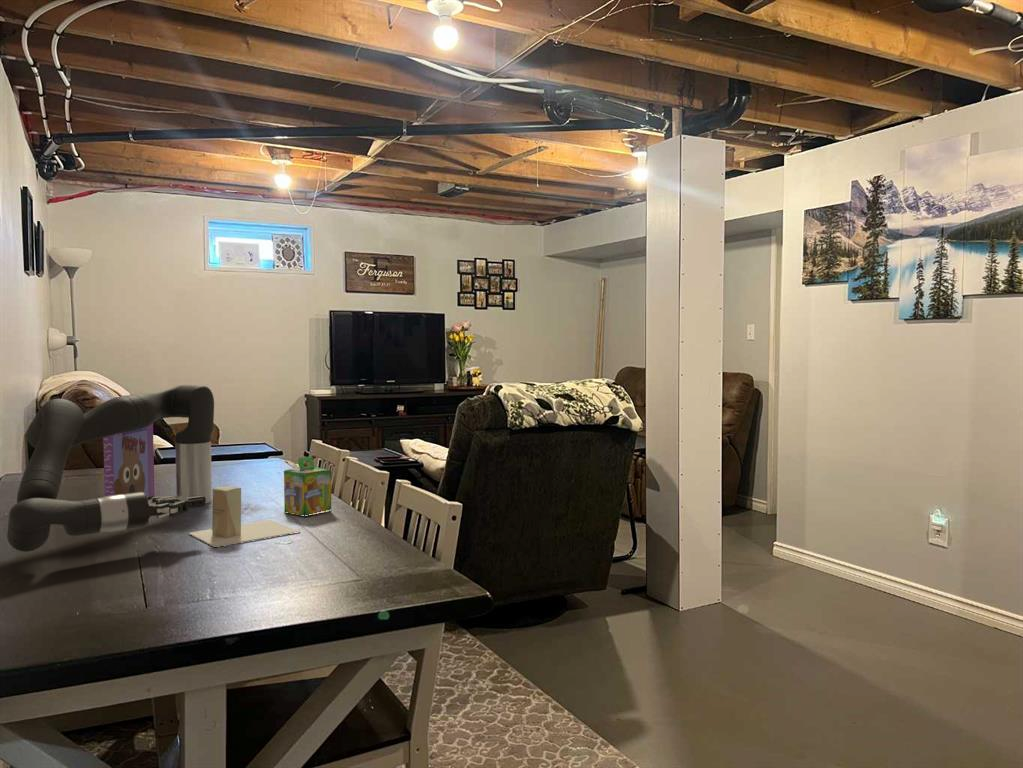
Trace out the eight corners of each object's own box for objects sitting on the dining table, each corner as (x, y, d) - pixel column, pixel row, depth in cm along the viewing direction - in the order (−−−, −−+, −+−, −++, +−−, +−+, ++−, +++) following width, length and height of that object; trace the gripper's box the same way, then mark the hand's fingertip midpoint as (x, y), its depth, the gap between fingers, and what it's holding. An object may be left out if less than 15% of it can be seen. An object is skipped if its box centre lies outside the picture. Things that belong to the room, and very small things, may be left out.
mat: (188, 534, 174) (188, 532, 174) (270, 521, 187) (270, 519, 187) (214, 548, 162) (214, 546, 162) (299, 533, 176) (299, 531, 176)
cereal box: (122, 508, 202) (120, 420, 201) (105, 508, 202) (103, 420, 201) (154, 495, 219) (152, 415, 218) (138, 495, 219) (136, 415, 218)
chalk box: (304, 518, 191) (304, 461, 191) (283, 513, 197) (282, 457, 196) (333, 512, 199) (332, 457, 198) (311, 507, 204) (310, 454, 204)
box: (211, 535, 171) (210, 488, 171) (226, 531, 175) (226, 485, 175) (227, 538, 169) (226, 490, 168) (242, 534, 173) (241, 487, 172)
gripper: (130, 499, 151) (215, 488, 163) (111, 490, 161) (193, 480, 173) (131, 535, 152) (215, 522, 164) (112, 524, 161) (194, 512, 173)
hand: (204, 500), depth 168 cm, fingers closed
